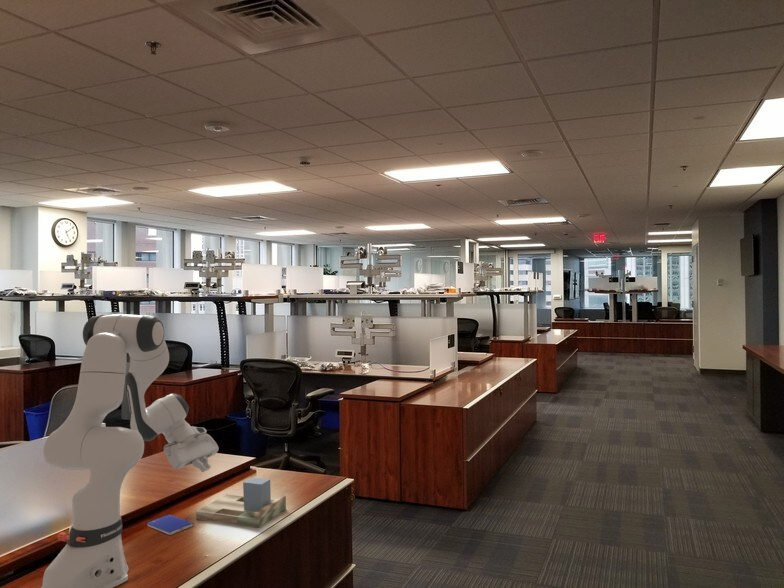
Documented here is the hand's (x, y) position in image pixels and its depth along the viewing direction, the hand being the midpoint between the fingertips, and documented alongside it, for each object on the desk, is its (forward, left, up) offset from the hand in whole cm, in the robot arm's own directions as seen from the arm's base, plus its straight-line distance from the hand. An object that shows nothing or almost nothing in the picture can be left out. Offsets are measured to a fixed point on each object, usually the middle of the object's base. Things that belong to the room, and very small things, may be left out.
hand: (206, 469), depth 194 cm
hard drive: (-14, +4, -15) cm, 20 cm away
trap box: (+1, -13, -14) cm, 19 cm away
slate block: (+1, -19, -11) cm, 22 cm away
